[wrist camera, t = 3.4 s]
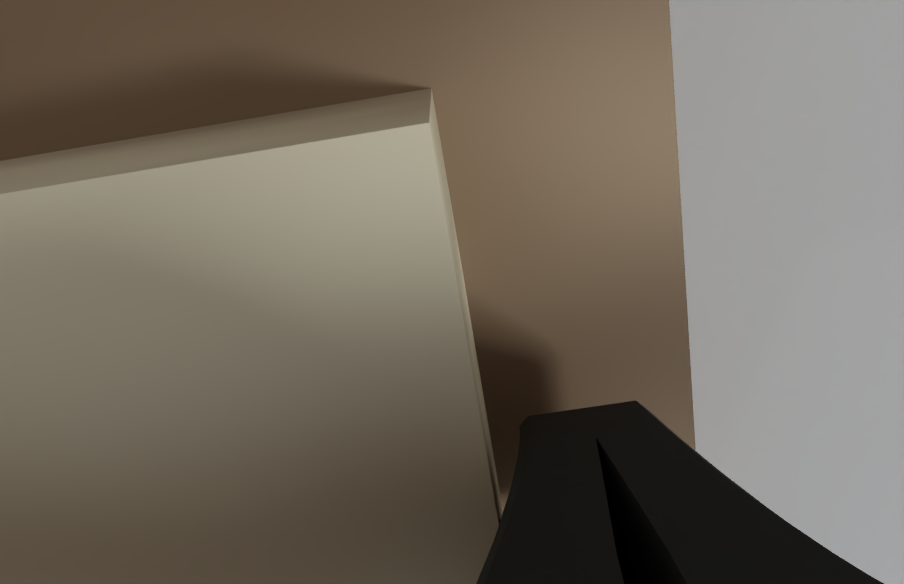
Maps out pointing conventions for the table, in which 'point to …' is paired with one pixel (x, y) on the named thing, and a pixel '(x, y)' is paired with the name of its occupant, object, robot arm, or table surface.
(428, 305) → the birch tile
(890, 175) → the table surface
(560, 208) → the walnut deck
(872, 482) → the table surface
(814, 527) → the table surface
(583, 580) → the robot arm
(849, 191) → the table surface
